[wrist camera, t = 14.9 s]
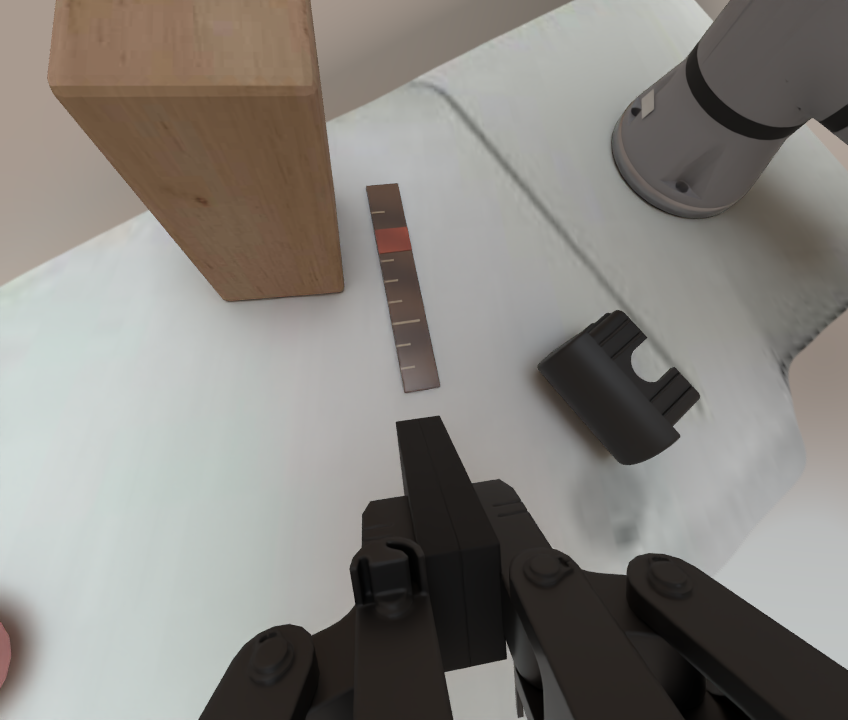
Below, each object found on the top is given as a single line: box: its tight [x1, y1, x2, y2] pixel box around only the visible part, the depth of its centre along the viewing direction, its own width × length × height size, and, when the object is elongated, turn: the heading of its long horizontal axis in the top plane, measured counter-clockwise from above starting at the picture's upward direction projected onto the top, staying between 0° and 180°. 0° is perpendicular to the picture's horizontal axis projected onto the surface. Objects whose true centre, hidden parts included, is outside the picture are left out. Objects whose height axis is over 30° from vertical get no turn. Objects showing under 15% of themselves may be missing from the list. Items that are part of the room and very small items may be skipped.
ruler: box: [366, 184, 440, 393], centre depth 37 cm, size 20×3×1 cm, turn 11°
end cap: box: [537, 310, 700, 465], centre depth 33 cm, size 10×7×7 cm
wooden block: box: [47, 0, 344, 301], centre depth 27 cm, size 10×10×20 cm
